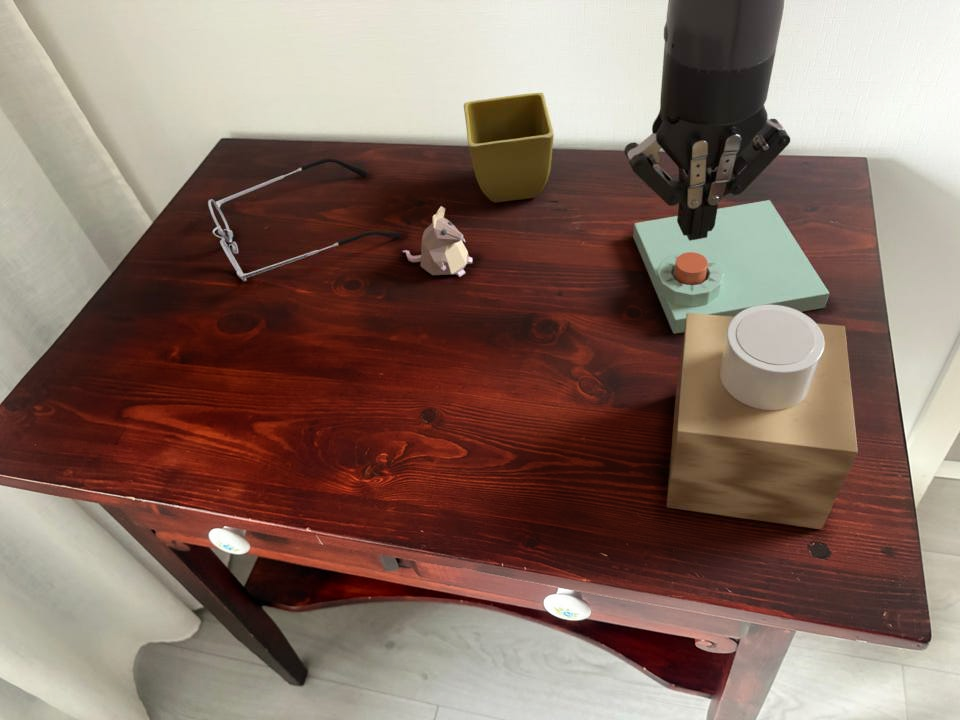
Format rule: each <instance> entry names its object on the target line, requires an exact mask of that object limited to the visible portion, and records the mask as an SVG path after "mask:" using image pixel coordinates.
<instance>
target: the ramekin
mask: <svg viewBox="0 0 960 720" xmlns="http://www.w3.org/2000/svg"><path fill="white" fill-rule="evenodd" d="M817 324H818V323H816V321H814V320H813V318H811V317H810V316H808V315H807V314H806V313H803V312H800V311H797V310H795V309H792V308H789V307H785V306H780V305H758V306H753V307H750V308H747V309H745V310H743V311H741V312H740V313H738V314H737V315H736V316H735V317H734V318H733V319H732V320H731V322H730V323H729V326H728V329H727V334H726V339H725V344H724V349H723V355H722V360H721V365H720V378H721V381H722V384H723V385H724V387H725V389H726V390H727V391H728V392H729V393H730V395H732V396H733V397H734V398H735V399H737V400H738V401H740V402H741V403H743V404H745V405H748V406H750V407H753V408H757V409H762V410H782V409H787V408H790V407H793V406H795V405H797V404H798V403H800V402H801V401H802V400H803V399H804V398H805V397H806V396H807V395H808V393H809V391H810V389H811V386H812V383H813V380H814V377H815V375H816V372H817V369H818V366H819V363H820V360H821V357H822V354H823V351H824V347H825V341H824V336H823V333H822V331H821V329H820V328H819V326H818V325H817Z"/></svg>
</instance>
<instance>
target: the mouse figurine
mask: <svg viewBox="0 0 960 720" xmlns="http://www.w3.org/2000/svg"><path fill="white" fill-rule="evenodd" d="M445 213H446V208H445V207H443V206H442V205H441V206H440V207H439V208H438V209H437V211H436V213H435V214H433V216H432V223H430V224H429V226H427V227H426V228H425V229H424V231H423V234H422V238H421V250H420V253H421V254H419V255H412V254H411V253H410V250H407V249H405V250H402V253H404V254H405V255H406V257H407V258H406V259H407V260H408V261H409V262H411V263H419V262H420V267H421V268H422V269H424V270H425V271H426V272H428V273H429V274H430V275H432V276H443V275H444V276H445V275H446V276H447V275H456V276H458V277H459V278H461V277H462V276H463V275H466V271H465V270H464V269H465V267H466V266H467V265H473V257H471V256H470V255H469V251H468V249H467V248H466V246H465V244H464V243H466V242H467V241H466V240H465V238H464V234H463V233H462V232H461V231H460V230H458V229H457V227H456V225H454V224H453V223H452V222H451V221H450V220H448V218H445ZM463 242H464V243H463Z"/></svg>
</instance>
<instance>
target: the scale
mask: <svg viewBox="0 0 960 720" xmlns="http://www.w3.org/2000/svg"><path fill="white" fill-rule="evenodd" d="M677 217H678V215H675V216H668V217H662V218H657V219H652V220H651V219H650V220H646V221H639V222H635V223H633V234H632V235H633V236H632V237H633V240H634V242H635V244H636V247H637V250H638V252H639V254H640V257H641V259H642V262H643V264H644V266H645V269H646V272H647V273H648V274H647V275H648V276H649V278H650V281H651V283H652V286H653V288H654V291H655V293H656V295H657V298H658V300H659V303H660V304H661V308H662V310H663V312H664V315H665V317H666V319H667V322H668V324H669V327H670V329H671V331H672V333H673V335H675V334H681V333H684V331H685V323H686V316H687V313H695V314H707V315H719V316H731V317H735V316H736V315H737V314H738V313H740V312H741V311H743V310H745V309H747V308H750V307H753V306H758V305H780V306H785V307H789V308H792V309H795V310H797V311H800V312H802V313H803V312H808V311H809V312H810V311H813V310H814V311H815V310H820V309H825V308H826V305H827V302H828V299H829V296H830V291H829V290H828V288H827V287H826V285H825V284H824V283H823V280H822V279H821V278H820V276H819V274H818V273H817V271H816V269H814V267H813V265H812V264H811V262H810V261H809V259H808V257H807V256H806V254H805V253H804V251H803V250H802V248H801V246H800V245H799V243H798V242H797V240H796V238H795V237H794V236H793V234H792V232H791V231H790V229H789V228H788V226H787V224H786V223H785V221H784V220H783V218H782V217H781V215H780V214H779V212H778V211H777V209H776V208H775V206H774V204H773V202H772V201H771V200H770V199H767V200H761V201H755V202H749V203H743V204H738V205H732V206H727V207H726V206H725V207H720V208H717V215H716V220H715V226H714V228H713V230H712V231H708V235H707V238H702V239H697V240H691V241H689V239H688V237H687V235H685V236H684V235H683V233H682V231H681V229H680V227H679V225H678V222H677ZM688 252H694V253H698V254H701V255H703V256H704V257H705V258H706V259H707V261H708V266H707V273H706V278H705V280H704V281H703V282H702V283H700V284H697V285H686V284H682V283H680V282H678V281H677V280H676V278H675V276H674V272H675V263H676V259H677V258H678V257H679V256H680V255H681V254H684V253H688Z"/></svg>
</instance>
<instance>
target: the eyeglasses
mask: <svg viewBox="0 0 960 720" xmlns="http://www.w3.org/2000/svg"><path fill="white" fill-rule="evenodd" d="M325 163H335V164H338V165H340V166H342V167H343V168H346V169H347V170H349V171H351V172H353V173H355V174H357V175H358V176H360V177H362V178H365V179H366V178H367V176H368V172H367V171H365V170H363V169H360V168H358V167H356V166H354V165H351V164H348V163H346V162H343V161H341V160H339V159H335V158H324V159H320V160H317V161H314V162H311V163H308V164H305V165H303V166H300V167H298V168H297V169H296V170H293V171H292V172H289V173H287V174H284V175H280V176H277V177H275V178H272V179H269V180H267V181H265V182H262V183H260V184H257V185H254V186H252V187H250V188H247V189H245V190H242V191H240V192H236V193H234V194H232V195H229V196H227V197H225V198H222V199H220V200H219V199H218V200H217V201H215V200H214V199H212V198H211V199H208V201H207V205H208V208H209V211H210V214H211V217H212V219H213V222H214V223H215V225H216V227H215V228H214V229H213V230H212V234H213V236H215V237H217V238H218V239H220V240H219V243H220V246H221V247H222V249H223V251H224V253H225V255H226V257H227V258H228V260H229V262H230V263H231V265H232V266H233V268H234V270H235V271H236V275H237V276H238V278H240V279H241V280H242V281H243V282H244V283H245V282H247V279H248V278H250V277H254V276H256V275H259V274H261V273H264V272H268V271H271V270H273V269H276V268H279V267H281V266H285V265H288V264H290V263H293V262H296V261H298V260H302V259H304V258H307V257H310V256H313V255H316V254H318V253H320V252H322V251H325V250H328V249H330V248H334V247H339V246H343V245H346V244H349V243H351V242H354V241H356V240H359V239H362V238H365V237H368V236H375V235H376V236H380V237H381V236H382V237H387V238H396V239H401V238H402V237H403V234H404V232H398V231H397V232H395V231H394V232H393V231H378V230H376V231H375V230H373V231H366V232H363V233H359V234H356V235H354V236H351V237H348V238H346V239H342V240H339V241H337V242H335V243H334V244H332V245H329V246H326V247H324V248H321V249H318V250H317V249H315V250H312V251H310V252H306V253H304V254H300V255H298V256H295V257H292V258H289V259H286V260H283V261H280V262H277V263H274V264H272V265H268V266H265V267H262V268H259V269H256V270H254V271H251V272H248V273H244V272H243V270H242V268H241V266H240V265H239V263H238V262H237V259H236V258H235V256H234V254H235V255H237V254H239V248H238V244H237V242H236V241H233V237H234V232H233V231H232V229H230V226H229V224H228V221H227V220H226V218H225V215H224V213H223V212H222V210H221V206H222V204H225V203H226V202H228V201H231V200H233V199H236V198H238V197H241V196H243V195H246V194H248V193H251V192H253V191H255V190H258V189H260V188H262V187H266V186H267V185H270V184H272V183H275V182H277V181H280V180H282V179H284V178H285V177H287V176H290V175H293V174H295V173H297V172H303V171H306V170H307V169H310V168H313V167H316V166H319V165H322V164H325ZM212 204H213V205H214V207H215V209H216V210H217V211H218V213H219V215H220V217H221V219H222V221H223V223H224V226H225V228H224V229H223V228H222V227H221V225H220V223H219V222H218V219H217V218H216V215H215V212H214V209H213V205H212ZM216 231H217V233H218V234H219V235H220V236H219V235H217V234H216V233H215V232H216ZM225 231H227V232H225ZM227 243H228V244H227ZM230 246H231V248H230Z"/></svg>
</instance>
